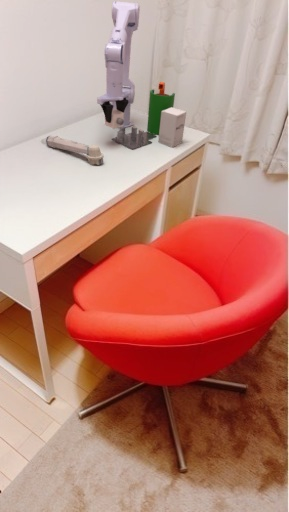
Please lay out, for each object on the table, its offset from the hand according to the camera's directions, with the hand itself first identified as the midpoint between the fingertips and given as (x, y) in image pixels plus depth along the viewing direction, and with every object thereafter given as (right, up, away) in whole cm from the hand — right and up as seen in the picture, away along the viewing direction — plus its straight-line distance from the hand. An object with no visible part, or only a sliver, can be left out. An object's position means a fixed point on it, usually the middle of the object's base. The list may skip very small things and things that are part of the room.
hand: (114, 120), depth 135 cm
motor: (+18, +2, +19) cm, 26 cm away
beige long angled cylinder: (-14, -15, -4) cm, 21 cm away
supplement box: (+22, -5, +10) cm, 25 cm away
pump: (0, -1, +1) cm, 2 cm away
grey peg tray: (+9, -4, +10) cm, 14 cm away
